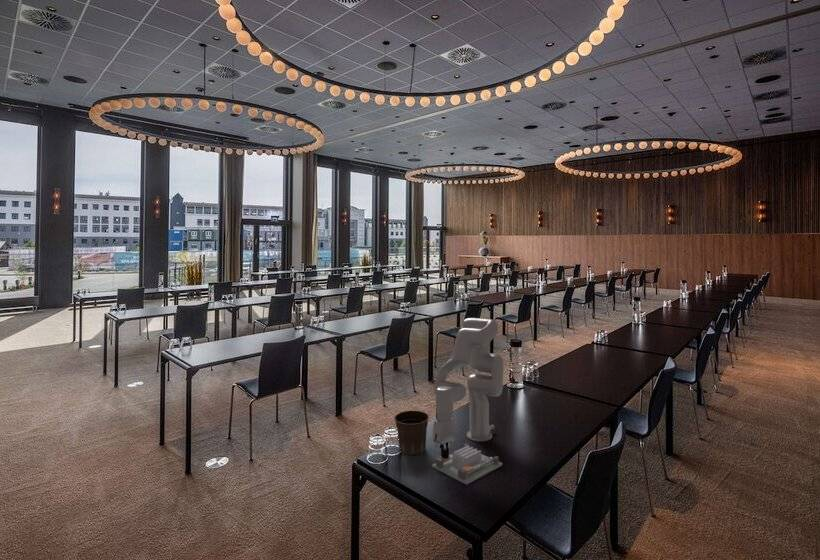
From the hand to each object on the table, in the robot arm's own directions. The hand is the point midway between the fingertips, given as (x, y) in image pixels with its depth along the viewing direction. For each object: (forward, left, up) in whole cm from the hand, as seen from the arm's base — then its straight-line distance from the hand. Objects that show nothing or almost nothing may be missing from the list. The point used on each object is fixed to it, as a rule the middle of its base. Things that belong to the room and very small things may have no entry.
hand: (445, 457), depth 195 cm
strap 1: (-7, 0, -2) cm, 8 cm away
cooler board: (-7, +6, -4) cm, 10 cm away
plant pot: (0, -22, -5) cm, 22 cm away
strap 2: (-7, +13, -2) cm, 15 cm away
